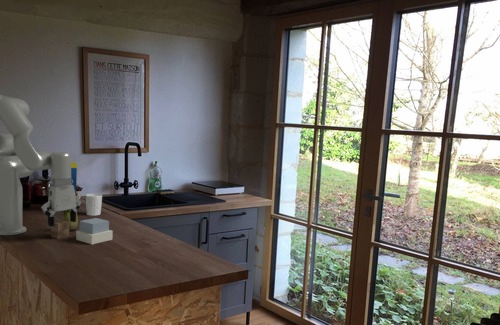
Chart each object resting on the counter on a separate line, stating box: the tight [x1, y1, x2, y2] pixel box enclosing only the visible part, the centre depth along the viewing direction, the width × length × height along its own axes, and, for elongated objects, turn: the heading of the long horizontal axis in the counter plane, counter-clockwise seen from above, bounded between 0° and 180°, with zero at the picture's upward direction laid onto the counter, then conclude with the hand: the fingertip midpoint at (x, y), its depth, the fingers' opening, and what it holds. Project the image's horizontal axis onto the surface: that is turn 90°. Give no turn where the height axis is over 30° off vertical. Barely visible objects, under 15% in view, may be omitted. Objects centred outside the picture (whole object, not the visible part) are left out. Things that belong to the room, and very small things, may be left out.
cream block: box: [75, 229, 114, 245], centre depth 177 cm, size 10×10×4 cm
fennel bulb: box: [62, 210, 79, 232], centre depth 189 cm, size 6×5×12 cm
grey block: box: [79, 217, 110, 234], centre depth 177 cm, size 8×8×4 cm
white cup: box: [85, 193, 103, 217], centre depth 221 cm, size 8×8×10 cm
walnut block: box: [50, 220, 70, 240], centre depth 178 cm, size 5×5×6 cm
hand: (62, 223), depth 178 cm, fingers open, 9 cm apart
